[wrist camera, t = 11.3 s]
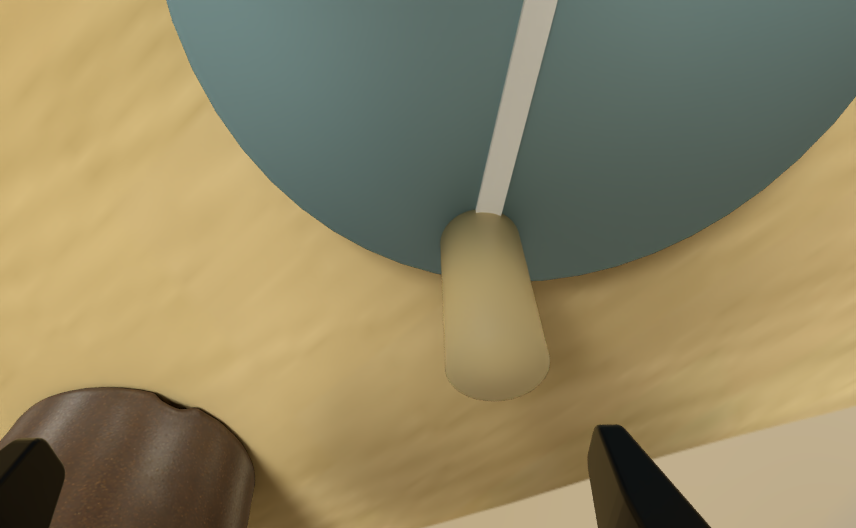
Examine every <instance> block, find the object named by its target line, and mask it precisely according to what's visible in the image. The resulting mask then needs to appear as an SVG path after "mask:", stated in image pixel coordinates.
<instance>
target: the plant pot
mask: <svg viewBox="0 0 856 528" xmlns="http://www.w3.org/2000/svg"><path fill="white" fill-rule="evenodd" d="M19 438H43V439H45V440H46V441H47V442H48V443H49V445H50V446H51V447H52V449H53V450H54V452H55V453H56V455H57V456H58V458H59V459H60V460H61V462H62V463H63V465H64V468H65V480H64V484H63V487H62V490H61V493H60V496H59V499H58V502H57V506H56V509H55V512H54V515H53V518H52V521H51V524H50V527H49V528H247V525H248V519H249V512H250V507H251V501H252V496H253V491H254V486H255V474H254V468H253V465H252V462H251V460H250V457H249V455H248V453H247V452H246V450H245V448H244V447H243V445H242V444H241V443H240V441H239V440H238V439H237V438H236V437H235V436H234V435H233V434H232V433H231V432H230V431H229V430H228V429H227V428H226V427H225V426H224V425H223V424H221V423H220V422H219V421H218V420H216V419H214V418H213V417H211V416H209V415H208V414H206V413H205V412H203V411H201V410H200V409H198V408H188V409H177V408H174V407H172V406H170V405H168V404H166V403H164V402H163V401H162V400H160V399H159V398H158V396H157V395H156V394H154V393H152V392H147V391H142V390H136V389H126V388H111V387H99V388H85V389H79V390H72V391H68V392H64V393H60V394H57V395H54V396H51V397H48V398H46V399H44V400H42V401H40V402H38V403H36V404H35V405H33V406H32V407H31V408H29V409H28V410H27V411H26V412H25V413H24V414H23V415H22V416H21V417H20V418H19V419H18V420H17V421H16V422H15V424H14V425H13V426H12V428H11V429H10V430H9V431H8V433H7V434H6V435H5V436H4V437H3V438H2V440H1V441H0V450H1V449H2V448H3V447H5V446H6V445H7V444H9V443H10V442H12V441H14V440H16V439H19Z"/></svg>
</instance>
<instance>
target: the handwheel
mask: <svg viewBox="0 0 856 528" xmlns="http://www.w3.org/2000/svg"><path fill="white" fill-rule="evenodd" d="M166 1H167V4H168V8H169V11H170V15H171V18H172V21H173V24H174V26H175V29H176V31H177V33H178V36H179V38H180V41H181V43H182V45H183V48H184V50H185V53H186V55H187V57H188V60H189V62H190V65H191V67H192V70H193V71H194V73H195V75H196V77H197V79H198V80H199V82H200V84H201V86H202V88H203V89H204V91H205V93H206V95H207V97H208V98H209V100H210V102H211V104H212V106H213V107H214V109H215V111H216V113H217V114H218V116H219V117H220V118H221V120H222V121H223V123H224V124H225V125H226V127H227V128H228V130H229V131H230V132H231V134H232V135H233V137H234V138H235V139H236V141H237V142H238V144H239V145H240V147H241V148H242V149H243V150H244V152H245V153H246V154H247V155H248V156H249V157H250V158H251V159H252V161H253V162H254V163H255V164H256V165H257V166H258V167H259V168H260V169H261V171H262V172H263V173H264V174H265V175H266V176H267V177H268V178H269V180H270V181H271V182H272V183H274V184H275V185H276V186H277V187H278V188H279V189H280V190H281V191H282V192H284V193H285V194H286V195H287V196H288V197H289V198H290V199H291V200H293V201H294V202H295V203H296V204H297V205H298V206H299V207H300V208H302V209H303V210H304V211H306V212H307V213H309V214H310V215H311V216H313V217H314V218H316V219H317V220H319V221H320V222H321V223H323V224H324V225H326V226H327V227H328V228H330V229H331V230H333V231H334V232H336V233H338V234H340V235H341V236H343V237H345V238H347V239H349V240H351V241H352V242H354V243H356V244H358V245H360V246H361V247H363V248H365V249H367V250H369V251H372V252H374V253H377V254H379V255H382V256H384V257H386V258H389V259H391V260H394V261H396V262H399V263H401V264H404V265H408V266H411V267H415V268H418V269H422V270H425V271H429V272H432V273H436V274H441V275H442V300H443V325H444V350H445V371H446V375H447V378H448V380H449V382H450V383H451V384H452V385H453V387H454V388H455V389H457V390H458V391H459V392H461V393H462V394H464V395H466V396H468V397H471V398H474V399H478V400H483V401H505V400H510V399H514V398H517V397H520V396H522V395H525V394H527V393H528V392H530V391H532V390H533V389H535V388H536V387H537V386H538V385H539V384H540V383H541V382H542V381H543V380H544V378H545V377H546V375H547V373H548V370H549V367H550V356H549V352H548V348H547V344H546V340H545V336H544V332H543V328H542V324H541V320H540V316H539V312H538V308H537V304H536V300H535V296H534V292H533V288H532V284H531V281H544V280H551V279H558V278H565V277H572V276H579V275H583V274H587V273H592V272H596V271H600V270H604V269H608V268H612V267H616V266H619V265H622V264H625V263H628V262H630V261H633V260H636V259H639V258H642V257H645V256H648V255H650V254H653V253H656V252H658V251H660V250H662V249H664V248H666V247H669V246H671V245H673V244H675V243H677V242H679V241H682V240H684V239H686V238H688V237H690V236H692V235H694V234H695V233H697V232H699V231H701V230H702V229H704V228H706V227H708V226H709V225H711V224H713V223H714V222H716V221H718V220H720V219H721V218H723V217H725V216H727V215H728V214H730V213H731V212H732V211H734V210H735V209H737V208H738V207H739V206H741V205H742V204H744V203H745V202H746V201H748V200H749V199H751V198H752V197H753V196H755V195H756V194H758V193H759V192H760V191H762V190H763V189H765V188H766V187H767V186H768V185H769V184H770V183H772V182H773V181H774V180H775V179H776V178H777V177H779V176H780V175H781V174H782V173H783V172H784V171H786V170H787V169H788V168H789V167H790V166H791V165H793V164H794V163H795V162H796V161H797V160H798V159H800V158H801V157H802V156H803V155H804V153H805V152H806V151H807V150H808V149H809V148H810V147H811V146H812V145H813V144H814V143H815V142H816V141H817V140H818V139H819V138H820V137H821V136H822V135H823V134H824V133H825V132H826V131H827V130H828V129H829V128H830V127H831V126H832V125H833V124H834V123H835V121H836V120H837V119H838V118H839V117H840V115H841V114H842V113H843V112H844V110H845V109H846V108H847V107H848V105H849V104H850V103H851V102H852V101H853V99H854V98H855V97H856V0H166Z"/></svg>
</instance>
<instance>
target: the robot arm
mask: <svg viewBox="0 0 856 528" xmlns="http://www.w3.org/2000/svg"><path fill="white" fill-rule="evenodd" d="M588 471H589V477H590V483H591V489H592V495H593V501H594V507H595V513H596V519H597V525H598V528H711V527H710V526H709V525H708V524H707V522H706V521H705V520H704V519H703V518H702V517H701V515H700V514H699V513H698V512H697V511H696V510H695V509H694V508H693V506H692V505H691V504H690V503H689V502H688V501H687V499H686V498H685V497H684V496H683V495H682V494H681V492H679V490H678V489H677V488H676V487H675V486H674V484H672V482H671V481H670V480H669V479H668V478H667V476H665V474H664V473H663V472H662V471H661V470H660V468H659V467H658V466H657V465H656V464H655V463H654V462H653V460H652V459H651V458H650V457H649V456H648V455H647V454H646V452H645V451H644V450H643V449H642V448H641V447H640V445H639V444H638V443H637V442H636V441H635V440H634V439H633V437H632V436H631V435H630V434H629V433H628V432H627V431H626V429H625V428H623V427H622V426H620V425H617V424H615V425H597V426H596V427H595V428H594V431H593V435H592V439H591V444H590V448H589V452H588ZM64 480H65V468H64V465H63V463H62V462H61V460H60V459H59V458H58V456H57V455H56V453H55V452H54V450H53V449H52V447H51V446H50V445H49V443H48V442H47V441H46V440H45V439H43V438H19V439H16V440H14V441H12V442H10V443H9V444H7V445H6V446H5V447H3V448H2V449H1V450H0V528H49V527H50V524H51V521H52V518H53V515H54V512H55V509H56V506H57V502H58V499H59V496H60V493H61V490H62V487H63V484H64Z"/></svg>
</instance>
